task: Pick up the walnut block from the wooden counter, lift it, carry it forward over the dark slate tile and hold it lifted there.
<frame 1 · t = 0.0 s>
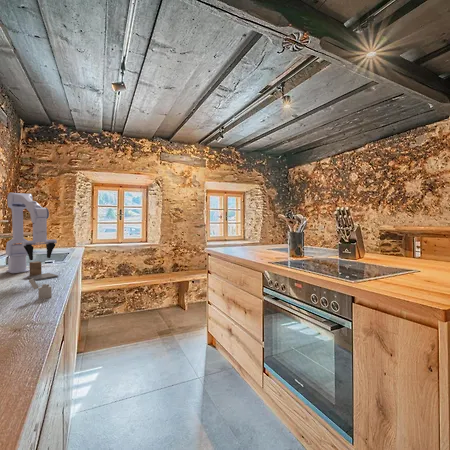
hand: (40, 258, 130), 10 cm above the counter, tool pointing down, fingers open, 7 cm apart
walnut block: (35, 275, 138), on the counter
slate tile: (42, 277, 134), on the counter
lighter: (40, 298, 101), on the counter
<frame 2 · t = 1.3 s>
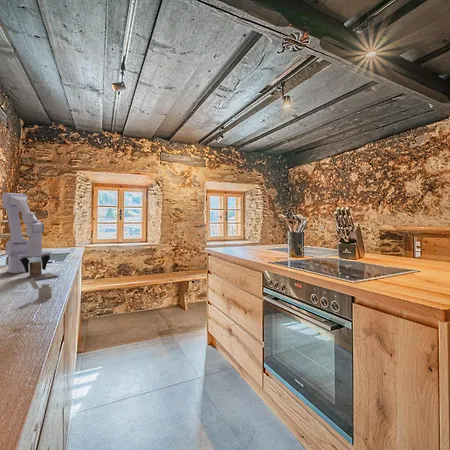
hand: (35, 270, 138), 2 cm above the counter, tool pointing down, fingers open, 7 cm apart
nothing on the counter moved.
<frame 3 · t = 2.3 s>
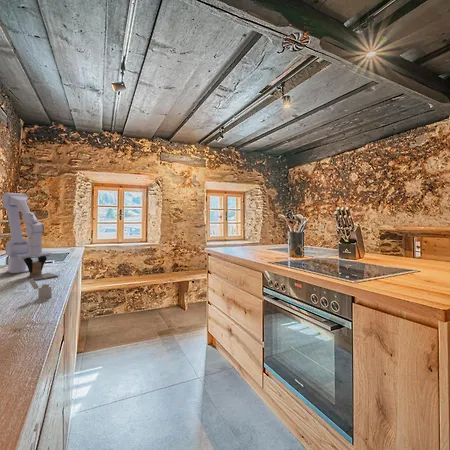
hand: (35, 271, 138), 2 cm above the counter, tool pointing down, fingers closed on walnut block, 4 cm apart
walnut block: (35, 275, 138), on the counter, touching gripper
everything else where it was.
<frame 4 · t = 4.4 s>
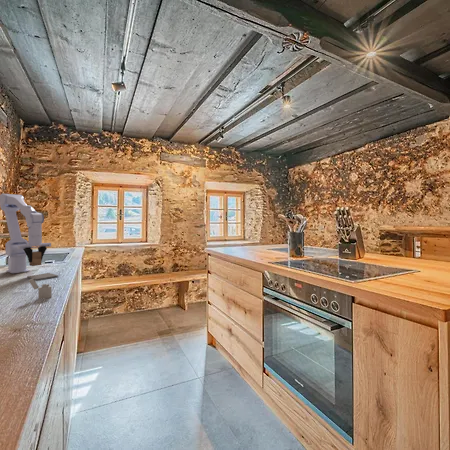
hand: (35, 261, 138), 7 cm above the counter, tool pointing down, fingers closed on walnut block, 4 cm apart
walnut block: (35, 265, 138), point 5 cm above the counter, touching gripper
everything else where it was.
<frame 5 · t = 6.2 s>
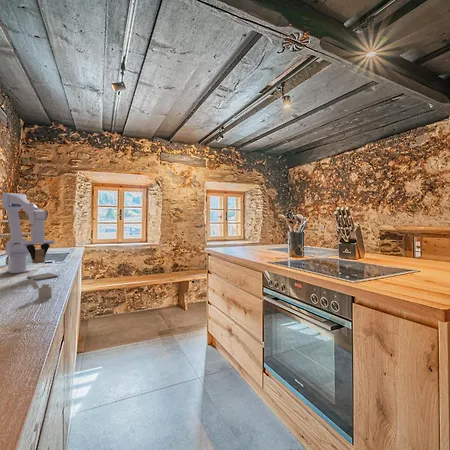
hand: (38, 258, 136), 9 cm above the counter, tool pointing down, fingers closed on walnut block, 4 cm apart
walnut block: (38, 262, 136), point 7 cm above the counter, touching gripper
everything else where it was.
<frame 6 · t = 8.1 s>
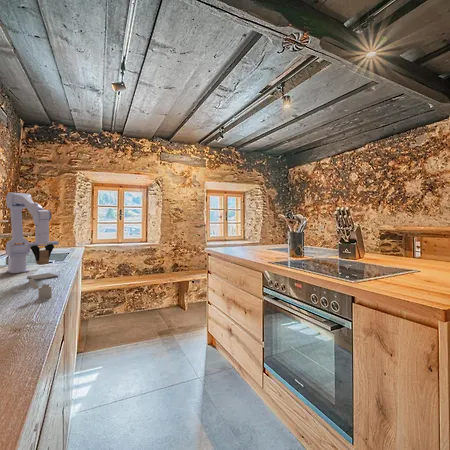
hand: (42, 260, 133), 9 cm above the counter, tool pointing down, fingers closed on walnut block, 4 cm apart
walnut block: (42, 263, 133), point 7 cm above the counter, touching gripper
everything else where it was.
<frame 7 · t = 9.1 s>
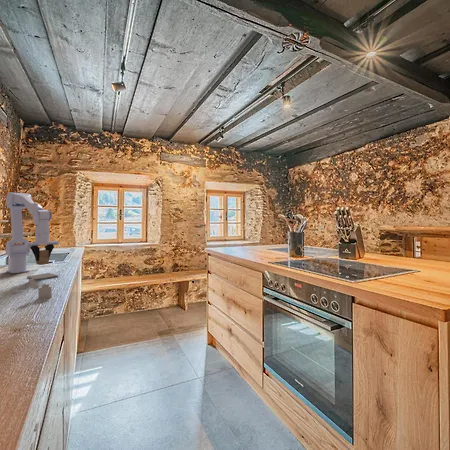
hand: (42, 260, 133), 9 cm above the counter, tool pointing down, fingers closed on walnut block, 4 cm apart
walnut block: (42, 263, 133), point 7 cm above the counter, touching gripper
everything else where it was.
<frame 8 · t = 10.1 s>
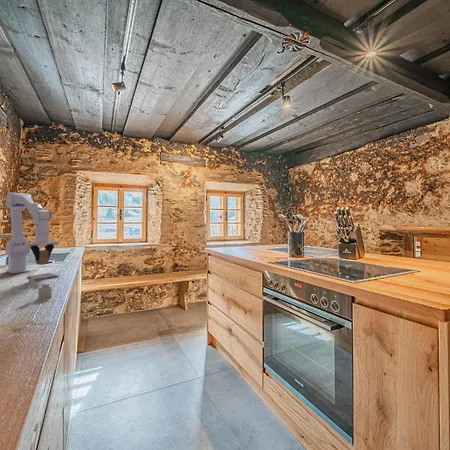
hand: (42, 260, 133), 9 cm above the counter, tool pointing down, fingers closed on walnut block, 4 cm apart
walnut block: (42, 263, 133), point 7 cm above the counter, touching gripper
everything else where it was.
at the end: the gripper is holding walnut block; walnut block point 7.0 cm above the counter; walnut block 0.0 cm off-centre on the slate tile, point 7.0 cm above the slate tile's base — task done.
